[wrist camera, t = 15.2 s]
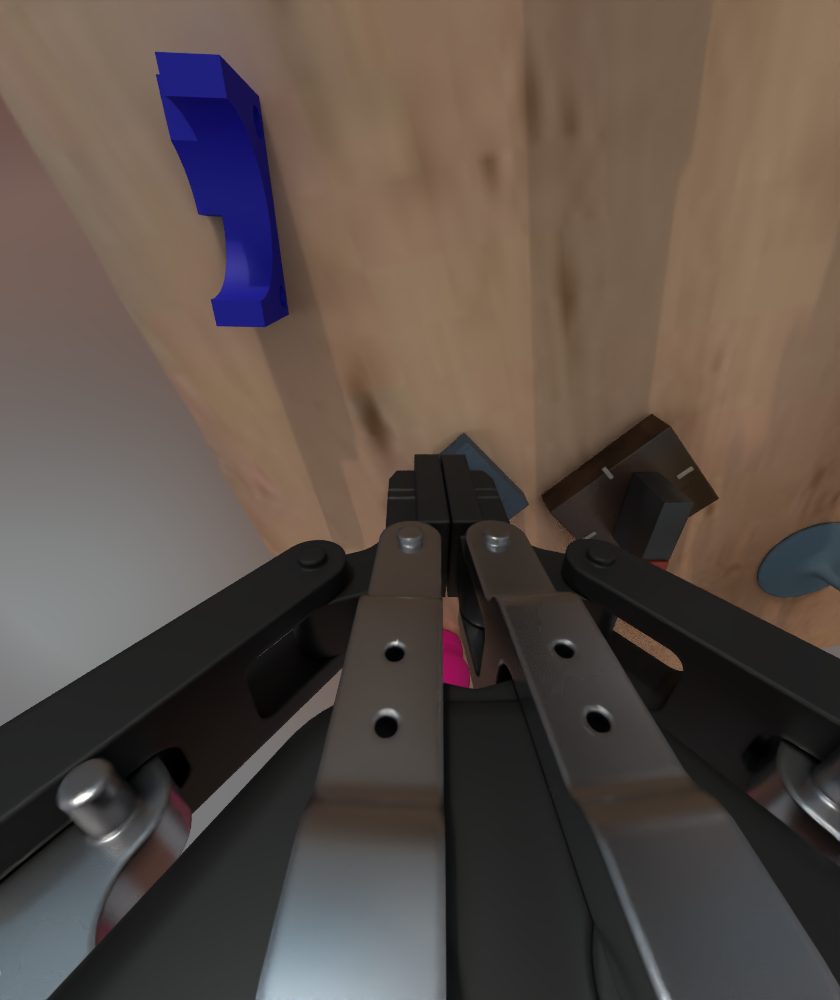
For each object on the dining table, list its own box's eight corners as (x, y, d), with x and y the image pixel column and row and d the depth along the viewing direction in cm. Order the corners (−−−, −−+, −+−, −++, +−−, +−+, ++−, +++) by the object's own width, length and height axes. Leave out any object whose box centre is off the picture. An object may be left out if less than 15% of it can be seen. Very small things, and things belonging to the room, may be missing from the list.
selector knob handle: (633, 472, 35) (666, 504, 31) (660, 472, 35) (696, 504, 31) (611, 536, 39) (638, 573, 34) (636, 536, 39) (665, 572, 34)
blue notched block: (182, 93, 24) (122, 50, 19) (258, 96, 24) (219, 54, 19) (228, 313, 30) (192, 325, 25) (288, 314, 30) (265, 327, 25)
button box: (463, 432, 36) (469, 451, 33) (523, 492, 39) (534, 515, 36) (387, 499, 39) (385, 523, 36) (448, 549, 43) (452, 575, 40)
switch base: (648, 408, 35) (668, 421, 33) (701, 486, 40) (723, 503, 37) (537, 492, 39) (546, 509, 37) (596, 553, 44) (609, 573, 41)
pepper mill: (401, 632, 50) (399, 830, 33) (458, 620, 49) (486, 817, 32) (417, 667, 53) (422, 861, 36) (470, 657, 53) (500, 850, 36)
